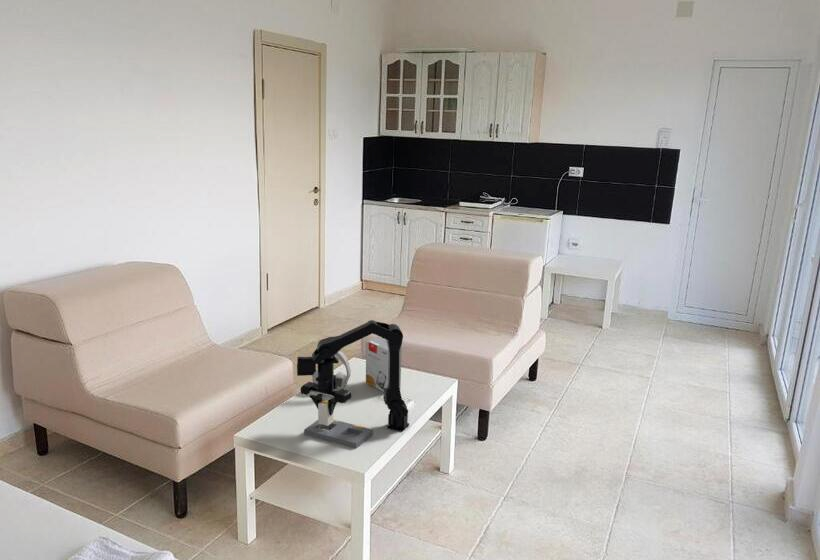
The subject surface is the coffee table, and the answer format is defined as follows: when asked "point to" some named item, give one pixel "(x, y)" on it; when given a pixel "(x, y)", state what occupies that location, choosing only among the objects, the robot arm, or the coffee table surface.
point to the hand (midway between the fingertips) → (326, 413)
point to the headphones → (339, 374)
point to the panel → (339, 433)
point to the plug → (324, 413)
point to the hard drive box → (378, 363)
